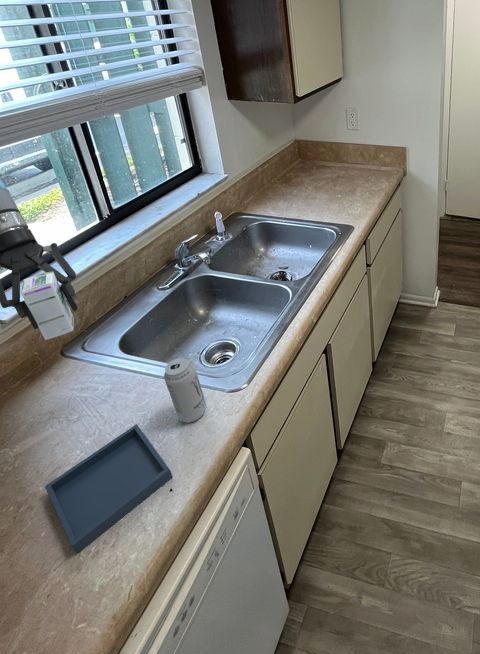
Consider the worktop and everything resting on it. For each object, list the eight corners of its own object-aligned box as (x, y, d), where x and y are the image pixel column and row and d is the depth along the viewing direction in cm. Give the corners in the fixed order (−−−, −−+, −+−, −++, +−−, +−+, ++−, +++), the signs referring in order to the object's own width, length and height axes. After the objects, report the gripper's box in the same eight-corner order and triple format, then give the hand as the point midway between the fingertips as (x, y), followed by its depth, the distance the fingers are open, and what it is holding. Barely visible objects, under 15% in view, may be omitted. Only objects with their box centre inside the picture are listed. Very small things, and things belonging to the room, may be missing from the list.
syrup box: (74, 331, 105) (53, 282, 98) (43, 341, 102) (19, 291, 95) (74, 317, 109) (54, 269, 103) (44, 327, 106) (22, 278, 100)
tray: (49, 494, 84) (44, 486, 83) (139, 431, 96) (136, 423, 95) (77, 554, 75) (71, 546, 74) (172, 477, 87) (169, 469, 86)
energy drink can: (205, 420, 98) (190, 373, 92) (176, 428, 97) (159, 380, 90) (208, 398, 103) (194, 352, 97) (181, 405, 102) (164, 358, 95)
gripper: (-50, 247, 93) (-1, 339, 91) (59, 212, 107) (104, 291, 105) (-44, 259, 99) (3, 346, 97) (59, 224, 113) (103, 300, 110)
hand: (56, 317), depth 101 cm, fingers closed on syrup box, 7 cm apart
